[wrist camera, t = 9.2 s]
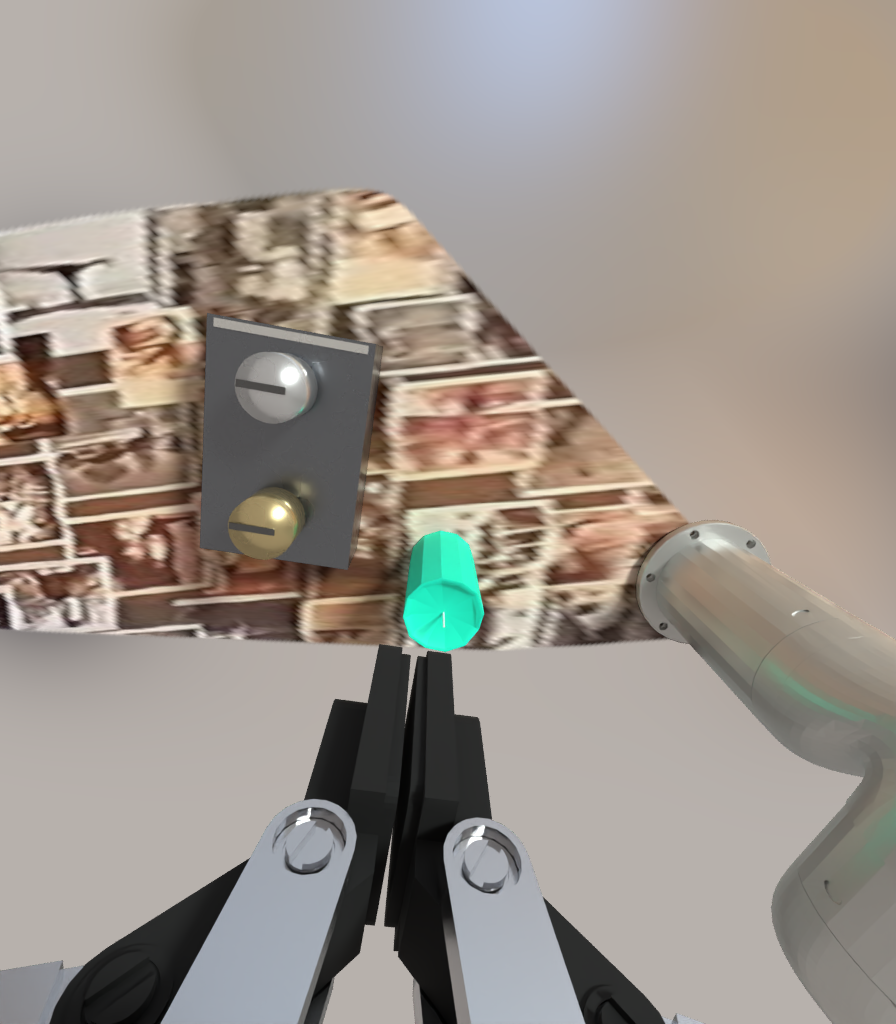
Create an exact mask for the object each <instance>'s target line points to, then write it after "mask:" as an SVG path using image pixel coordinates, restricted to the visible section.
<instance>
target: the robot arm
mask: <svg viewBox="0 0 896 1024" xmlns="http://www.w3.org/2000/svg"><path fill="white" fill-rule="evenodd" d="M636 596H637V601H638V605H639V608H640V610H641V612H642V614H643V616H644V618H645V619H646V620H647V621H648V622H649V624H650V625H651V626H652V627H653V628H654V629H655V630H656V631H657V632H658V633H660V634H661V635H663V636H665V637H666V638H668V639H671V640H674V641H677V642H680V643H688V644H690V645H691V646H692V647H693V648H694V650H695V651H696V652H697V653H698V654H699V655H700V656H701V657H702V658H703V659H704V660H705V661H706V663H707V664H708V665H709V666H710V667H711V668H712V669H713V670H714V671H715V673H716V674H717V675H718V676H719V677H720V678H721V679H722V680H723V681H724V683H725V684H726V685H727V686H728V687H729V688H730V689H731V690H732V691H733V693H734V694H735V695H736V696H737V697H738V698H739V699H740V700H741V701H742V702H743V704H745V706H746V707H747V708H748V709H749V710H750V711H751V712H752V714H753V715H754V716H755V717H756V718H757V719H758V720H759V721H760V722H761V723H762V724H763V725H764V726H765V727H766V729H767V730H768V731H769V732H770V733H771V734H772V735H773V736H774V737H775V738H776V739H777V740H778V741H779V742H780V743H781V744H782V745H783V746H785V747H786V748H787V749H789V750H790V751H791V752H793V753H794V754H796V755H797V756H799V757H801V758H803V759H805V760H807V761H809V762H811V763H813V764H815V765H818V766H821V767H824V768H827V769H830V770H833V771H837V772H841V773H845V774H850V775H855V776H860V777H864V778H863V780H862V782H861V783H860V785H859V786H858V787H857V788H856V790H855V791H854V792H853V793H852V795H851V796H850V797H849V798H848V799H847V801H846V804H845V806H844V807H843V808H842V809H841V810H840V811H839V812H838V813H837V814H836V816H835V817H834V818H833V819H832V820H831V821H830V822H829V823H828V824H827V825H826V827H825V828H824V829H823V830H822V831H821V832H820V833H819V834H818V835H817V837H816V838H815V839H814V840H813V841H812V842H811V843H810V844H809V845H808V847H807V848H806V849H805V850H804V851H803V852H802V853H801V855H800V856H799V857H798V858H797V859H796V860H795V861H794V862H793V864H792V865H791V866H790V867H789V868H788V870H787V871H786V872H785V874H784V875H783V876H782V878H781V879H780V881H779V883H778V885H777V887H776V889H775V892H774V894H773V899H772V906H771V910H772V922H773V926H774V929H775V932H776V936H777V939H778V941H779V944H780V946H781V948H782V950H783V952H784V955H785V956H786V958H787V960H788V962H789V964H790V965H791V967H792V969H793V970H794V972H795V974H796V975H797V977H798V978H799V980H800V981H801V983H802V984H803V986H804V987H805V989H806V990H807V991H808V993H809V994H810V995H811V997H812V998H813V1000H814V1001H815V1002H816V1003H817V1005H818V1006H819V1007H820V1008H821V1010H822V1011H823V1012H824V1014H825V1015H826V1016H827V1018H828V1019H829V1020H830V1021H831V1022H832V1024H896V639H894V638H892V637H890V636H889V635H887V634H885V633H884V632H882V631H880V630H879V629H877V628H875V627H874V626H872V625H870V624H868V623H866V622H865V621H863V620H861V619H860V618H858V617H856V616H854V615H853V614H851V613H850V612H848V611H846V610H845V609H843V608H841V607H840V606H838V605H836V604H835V603H833V602H831V601H830V600H828V599H826V598H825V597H823V596H821V595H820V594H818V593H816V592H815V591H813V590H811V589H810V588H808V587H806V586H804V585H803V584H801V583H800V582H798V581H796V580H795V579H793V578H792V577H790V576H788V575H786V574H785V573H783V572H782V571H780V570H778V569H777V568H775V567H773V566H772V565H771V561H770V557H769V555H768V553H767V550H766V548H765V547H764V545H763V544H762V543H761V542H760V540H759V539H758V538H757V537H756V536H754V535H753V534H752V533H751V532H749V531H747V530H746V529H744V528H742V527H740V526H738V525H735V524H733V523H730V522H725V521H719V520H704V521H699V522H694V523H690V524H687V525H685V526H682V527H680V528H678V529H676V530H674V531H672V532H671V533H669V534H667V535H666V536H665V537H664V538H663V539H661V540H660V541H659V542H658V543H657V544H656V545H655V546H654V547H653V548H652V550H651V551H650V552H649V553H648V555H647V556H646V558H645V560H644V561H643V563H642V565H641V568H640V571H639V574H638V578H637V584H636ZM410 657H411V656H410V655H407V654H402V647H396V646H389V645H381V644H379V649H378V654H377V659H376V664H375V669H374V674H373V679H372V684H371V690H370V694H369V699H368V703H363V702H355V701H346V700H339V699H335V700H334V703H333V705H332V709H331V712H330V716H329V719H328V722H327V725H326V729H325V732H324V736H323V739H322V742H321V745H320V749H319V752H318V756H317V759H316V762H315V765H314V769H313V772H312V776H311V779H310V782H309V786H308V789H307V792H306V795H305V799H304V801H299V802H297V803H294V804H292V805H290V806H288V807H286V808H285V809H283V810H282V811H281V812H279V813H278V814H277V815H276V816H275V817H274V818H273V819H272V821H271V822H270V824H269V825H268V826H267V828H266V829H265V831H264V833H263V835H262V837H261V839H260V841H259V842H258V844H257V846H256V848H255V850H254V852H253V854H252V856H251V857H250V858H249V859H248V860H246V861H244V862H243V863H241V864H240V865H238V866H237V867H235V868H233V869H232V870H230V871H228V872H227V873H225V874H224V875H222V876H221V877H219V878H217V879H216V880H214V881H213V882H211V883H209V884H208V885H206V886H205V887H203V888H201V889H200V890H198V891H197V892H195V893H194V894H192V895H190V896H189V897H187V898H186V899H184V900H182V901H181V902H179V903H178V904H176V905H174V906H173V907H171V908H170V909H168V910H166V911H165V912H163V913H162V914H160V915H159V916H157V917H155V918H154V919H152V920H151V921H149V922H147V923H146V924H144V925H143V926H141V927H139V928H138V929H136V930H135V931H133V932H132V933H130V934H128V935H127V936H125V937H124V938H122V939H120V940H119V941H117V942H116V943H114V944H112V945H111V946H109V947H108V948H106V949H105V950H104V951H102V952H101V953H100V954H98V955H97V956H96V957H94V958H93V959H92V960H90V961H89V962H88V963H87V964H85V966H79V967H73V968H67V969H63V961H56V962H50V963H44V964H38V965H32V966H26V967H20V968H14V969H8V970H2V971H0V1024H322V1023H323V1020H324V1017H325V1013H326V1010H327V1006H328V1003H329V999H330V996H331V992H332V989H333V983H334V977H335V976H336V974H338V973H339V972H340V971H341V970H342V969H343V968H344V967H345V966H346V965H347V964H348V963H349V962H350V961H352V960H353V959H354V958H355V957H356V956H357V955H358V954H359V953H360V949H361V943H362V937H363V932H364V926H365V925H375V922H376V916H377V911H378V905H379V900H380V894H381V889H382V884H383V878H384V872H385V867H386V862H387V856H388V850H389V846H390V840H391V835H392V843H391V854H390V865H389V877H388V888H387V898H386V910H385V921H384V922H385V923H384V926H386V927H395V937H394V938H395V939H394V951H398V957H399V958H400V960H401V961H402V962H403V964H404V965H405V966H406V968H407V969H408V970H409V972H410V973H411V975H412V976H413V977H414V980H413V1003H414V1016H415V1024H704V1023H702V1022H699V1021H696V1020H693V1019H691V1018H688V1017H686V1016H683V1015H680V1014H677V1013H676V1015H675V1017H674V1019H673V1020H670V1019H668V1018H665V1017H662V1016H661V1015H660V1013H659V1012H658V1011H657V1010H656V1008H655V1007H654V1006H653V1005H652V1004H651V1003H650V1001H649V1000H648V999H647V998H646V997H645V996H644V995H643V994H642V993H641V992H640V991H639V990H638V989H637V988H636V987H635V986H634V985H633V984H632V983H631V982H630V981H629V980H628V979H627V978H626V977H625V976H624V975H623V974H622V973H621V972H620V971H619V970H618V969H617V968H616V967H615V966H614V965H613V964H611V963H610V962H609V961H608V960H607V959H606V958H605V957H604V956H603V955H602V954H601V953H600V952H599V951H598V950H597V949H596V948H595V947H594V946H593V945H592V944H591V943H590V942H589V941H588V940H587V939H586V938H585V937H583V935H582V934H580V932H578V930H577V929H575V928H574V927H573V926H572V925H571V924H570V923H569V922H568V921H567V920H566V919H565V918H564V917H563V916H562V915H561V914H560V913H559V912H558V911H557V910H556V909H555V908H554V907H553V906H552V905H551V904H550V903H549V902H548V901H547V900H546V899H545V898H543V896H542V893H541V891H540V887H539V885H538V882H537V879H536V876H535V873H534V870H533V867H532V864H531V861H530V858H529V855H528V853H527V851H526V849H525V847H524V845H523V843H522V842H521V841H520V839H519V838H518V837H517V836H516V835H515V834H514V832H512V831H511V830H509V829H508V828H507V827H505V826H504V825H503V824H501V823H498V822H496V821H493V820H492V816H491V808H490V800H489V792H488V784H487V775H486V768H485V760H484V751H483V743H482V735H481V728H480V721H479V719H478V717H471V716H464V715H456V714H454V698H453V680H452V661H451V654H447V653H439V652H432V651H428V652H427V655H426V657H421V656H418V657H417V662H416V668H415V674H414V679H413V685H412V690H411V695H410V701H409V707H408V712H407V718H406V723H405V717H406V705H407V692H408V681H409V669H410ZM392 829H393V832H392Z"/></svg>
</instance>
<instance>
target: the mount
mask: <svg viewBox="0 0 896 1024" xmlns="http://www.w3.org/2000/svg"><path fill="white" fill-rule="evenodd" d="M382 351H383V346H380V345H376V344H371V343H366V342H361V341H355V340H350V339H344V338H339V337H333V336H328V335H323V334H317V333H312V332H306V331H301V330H296V329H290V328H285V327H279V326H274V325H269V324H263V323H258V322H252V321H247V320H241V319H236V318H231V317H225V316H220V315H214V314H209V313H207V337H206V369H205V402H204V434H203V466H202V499H201V531H200V548H205V549H212V550H218V551H225V552H232V553H238V554H243V553H242V552H241V551H239V550H238V549H237V548H236V546H235V545H234V544H233V542H232V540H231V538H230V536H229V532H228V521H229V517H230V515H231V513H232V511H233V510H234V509H235V508H236V507H237V506H238V505H239V504H241V503H242V502H243V501H245V500H246V499H248V498H249V497H250V496H252V495H253V494H254V493H256V492H257V491H259V490H261V489H264V488H268V487H278V488H283V489H285V490H287V491H289V492H291V493H293V494H294V495H295V496H296V497H300V502H301V504H302V505H303V508H304V511H305V524H304V527H303V529H302V531H301V532H300V534H299V535H298V536H297V537H296V539H295V540H294V541H293V542H292V544H291V545H290V546H289V548H288V549H287V550H286V551H285V552H284V553H283V554H281V555H280V556H278V557H276V558H273V559H279V560H285V561H292V562H299V563H306V564H312V565H319V566H326V567H332V568H339V569H346V570H348V568H349V565H350V563H351V561H352V558H353V556H354V554H355V551H356V549H357V543H358V535H359V528H360V520H361V512H362V505H363V497H364V489H365V482H366V474H367V466H368V458H369V451H370V443H371V435H372V428H373V420H374V412H375V405H376V397H377V389H378V382H379V374H380V366H381V359H382ZM260 352H278V353H289V354H293V355H295V356H297V357H299V358H301V359H302V360H304V361H305V362H306V363H307V364H308V365H309V366H310V367H312V370H313V372H314V374H315V377H316V380H317V386H318V392H317V397H316V400H315V402H314V404H313V406H312V407H311V408H310V409H309V410H308V411H307V412H306V413H304V414H303V415H301V416H298V417H296V418H293V419H291V420H288V421H286V422H283V423H278V424H270V423H265V422H262V421H259V420H257V419H255V418H253V417H252V416H251V415H249V414H248V413H247V412H246V411H245V410H244V408H243V407H242V406H241V404H240V402H239V400H238V398H237V395H236V392H235V377H236V373H237V371H238V368H239V367H240V365H241V364H242V363H243V361H244V360H246V359H247V358H248V357H250V356H251V355H253V354H256V353H260Z"/></svg>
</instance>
